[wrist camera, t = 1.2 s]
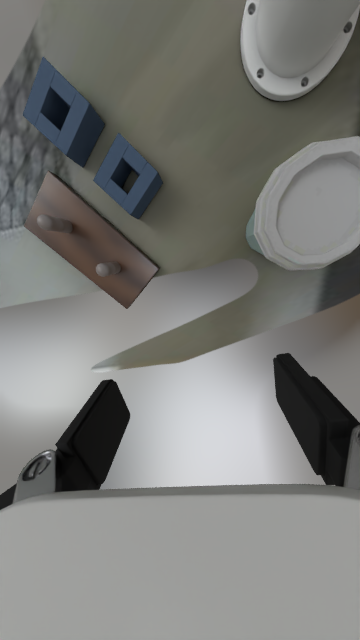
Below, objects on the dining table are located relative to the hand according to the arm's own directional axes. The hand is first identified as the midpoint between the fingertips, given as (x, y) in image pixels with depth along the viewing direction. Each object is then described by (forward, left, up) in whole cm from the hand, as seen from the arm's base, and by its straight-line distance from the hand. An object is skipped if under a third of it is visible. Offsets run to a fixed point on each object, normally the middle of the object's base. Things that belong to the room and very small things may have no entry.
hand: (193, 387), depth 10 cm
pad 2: (-6, -19, -25) cm, 32 cm away
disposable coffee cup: (-15, +1, -25) cm, 29 cm away
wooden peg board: (+6, -19, -25) cm, 32 cm away
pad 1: (-6, -30, -25) cm, 40 cm away
